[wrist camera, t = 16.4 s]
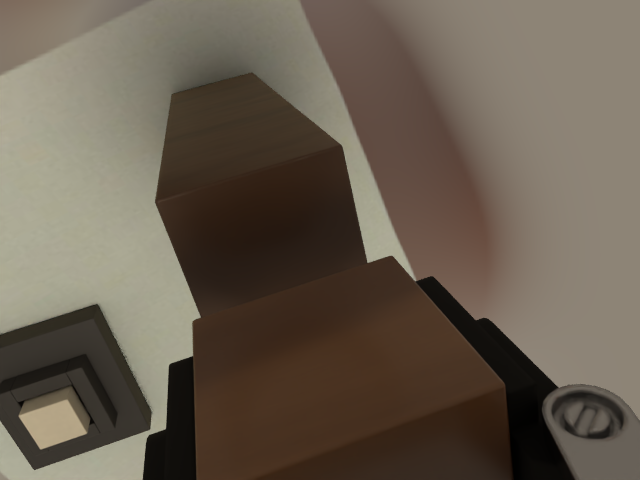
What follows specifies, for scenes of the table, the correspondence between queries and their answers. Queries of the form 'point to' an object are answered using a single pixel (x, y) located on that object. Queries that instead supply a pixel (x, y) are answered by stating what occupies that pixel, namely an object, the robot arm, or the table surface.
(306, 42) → the table surface
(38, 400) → the beige block
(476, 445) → the block
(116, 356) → the button base
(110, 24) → the table surface
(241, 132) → the stand
